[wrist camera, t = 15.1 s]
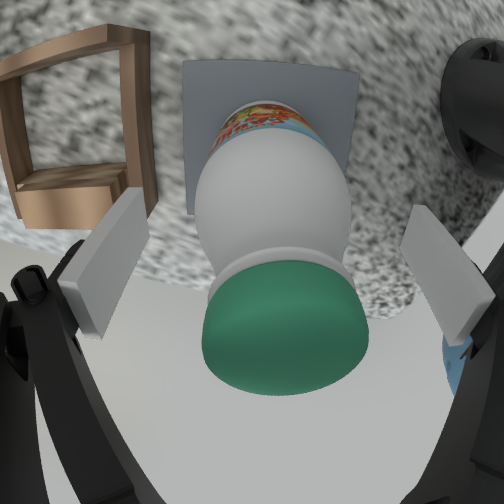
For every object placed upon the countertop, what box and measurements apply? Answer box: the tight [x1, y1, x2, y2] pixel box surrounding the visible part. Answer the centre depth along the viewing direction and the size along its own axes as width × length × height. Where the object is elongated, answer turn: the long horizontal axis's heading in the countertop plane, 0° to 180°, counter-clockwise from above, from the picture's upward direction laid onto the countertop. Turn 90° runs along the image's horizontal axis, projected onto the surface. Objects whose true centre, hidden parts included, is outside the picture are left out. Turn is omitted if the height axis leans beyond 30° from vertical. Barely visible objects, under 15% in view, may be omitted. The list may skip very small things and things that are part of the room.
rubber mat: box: [183, 60, 360, 215], centre depth 24 cm, size 14×14×1 cm
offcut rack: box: [0, 24, 158, 230], centre depth 20 cm, size 16×16×8 cm
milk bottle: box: [195, 100, 369, 396], centre depth 16 cm, size 8×8×20 cm
